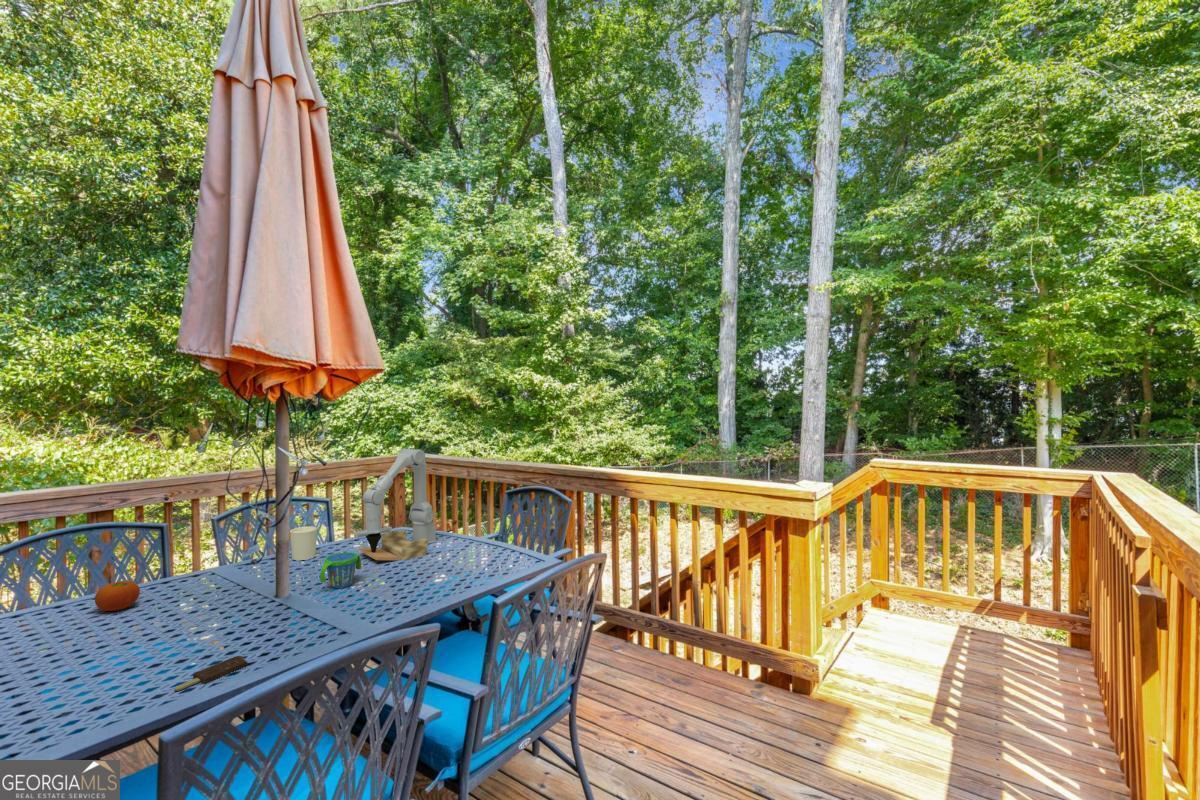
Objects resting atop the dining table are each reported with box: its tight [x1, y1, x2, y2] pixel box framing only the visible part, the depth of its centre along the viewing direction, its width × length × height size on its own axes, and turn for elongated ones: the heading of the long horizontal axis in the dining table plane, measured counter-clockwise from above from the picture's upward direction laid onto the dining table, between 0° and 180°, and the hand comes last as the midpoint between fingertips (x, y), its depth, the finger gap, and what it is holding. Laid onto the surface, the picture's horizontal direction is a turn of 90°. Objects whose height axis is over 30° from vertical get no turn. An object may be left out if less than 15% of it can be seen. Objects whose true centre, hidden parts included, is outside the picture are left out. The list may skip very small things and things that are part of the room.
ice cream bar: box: [173, 655, 248, 692], centre depth 126 cm, size 5×2×15 cm
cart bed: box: [381, 529, 429, 561], centre depth 224 cm, size 10×21×7 cm, turn 45°
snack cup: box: [319, 551, 362, 589], centre depth 186 cm, size 16×10×10 cm
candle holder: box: [289, 525, 318, 560], centre depth 215 cm, size 10×10×12 cm
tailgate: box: [358, 546, 400, 561], centre depth 216 cm, size 1×18×9 cm
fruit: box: [94, 580, 141, 612], centre depth 164 cm, size 11×10×8 cm
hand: (373, 552), depth 215 cm, fingers closed, pressing on tailgate
